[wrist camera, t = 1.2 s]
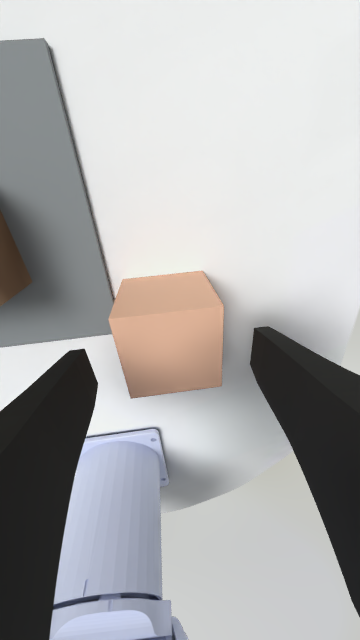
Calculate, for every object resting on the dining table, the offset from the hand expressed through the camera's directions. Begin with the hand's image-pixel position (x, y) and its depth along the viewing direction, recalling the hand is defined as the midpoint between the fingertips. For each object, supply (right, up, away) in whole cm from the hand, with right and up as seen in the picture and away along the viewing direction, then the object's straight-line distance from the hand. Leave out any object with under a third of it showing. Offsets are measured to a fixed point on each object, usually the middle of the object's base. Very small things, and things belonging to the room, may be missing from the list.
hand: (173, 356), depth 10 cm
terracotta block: (-1, +2, +4) cm, 5 cm away
